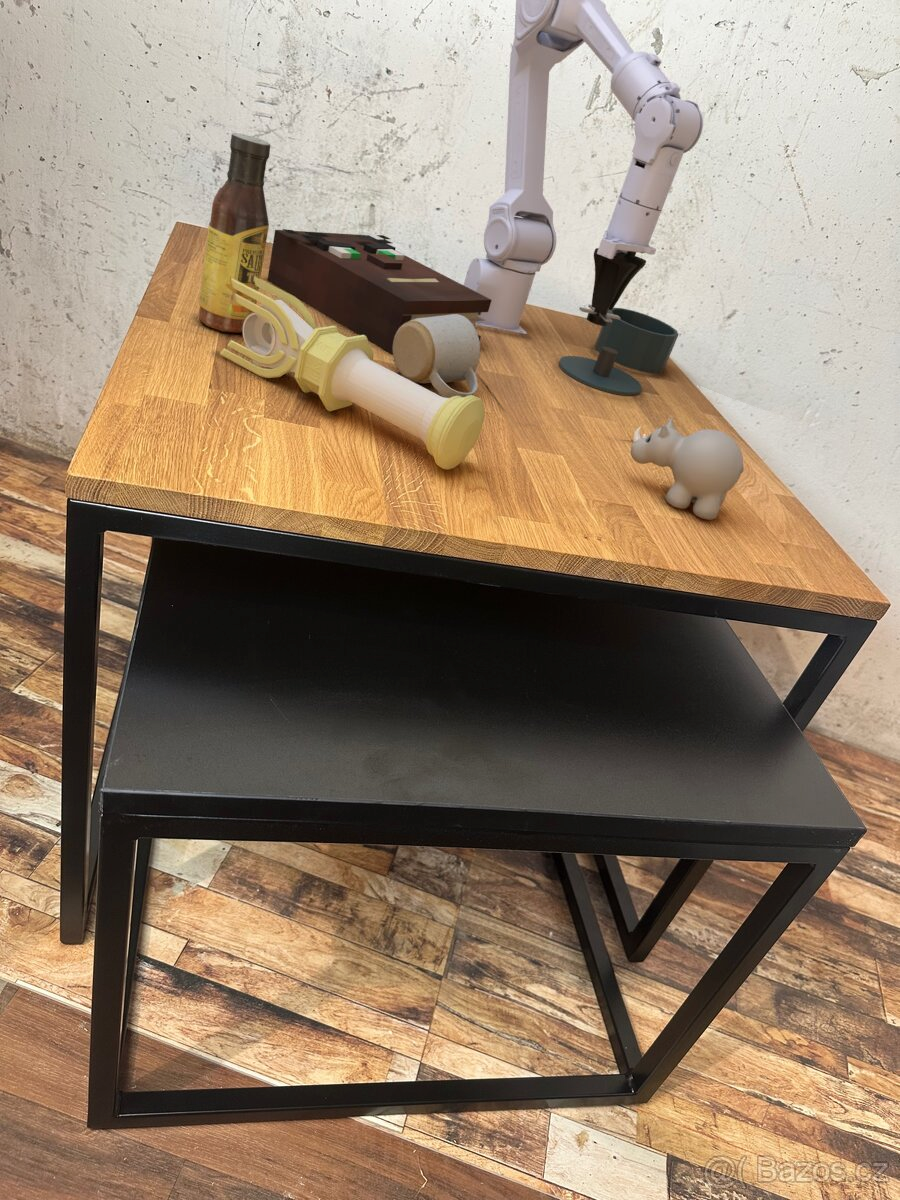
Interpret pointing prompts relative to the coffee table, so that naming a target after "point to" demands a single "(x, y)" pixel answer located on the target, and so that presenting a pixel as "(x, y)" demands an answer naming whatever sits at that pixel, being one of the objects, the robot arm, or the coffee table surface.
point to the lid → (601, 373)
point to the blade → (598, 316)
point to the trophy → (350, 374)
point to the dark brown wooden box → (366, 283)
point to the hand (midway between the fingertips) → (601, 308)
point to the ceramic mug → (438, 352)
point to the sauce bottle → (235, 236)
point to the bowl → (638, 340)
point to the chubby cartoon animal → (693, 465)
